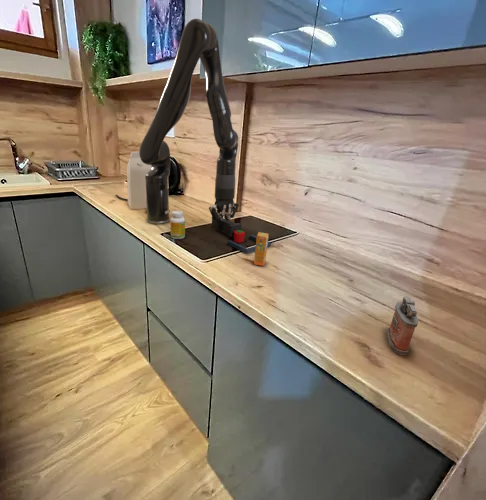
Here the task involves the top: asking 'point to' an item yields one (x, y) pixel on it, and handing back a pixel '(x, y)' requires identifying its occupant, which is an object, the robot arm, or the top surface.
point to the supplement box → (261, 248)
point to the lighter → (402, 325)
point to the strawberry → (239, 236)
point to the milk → (136, 181)
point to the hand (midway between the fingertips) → (223, 229)
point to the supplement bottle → (177, 225)
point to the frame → (243, 249)
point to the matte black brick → (227, 226)
